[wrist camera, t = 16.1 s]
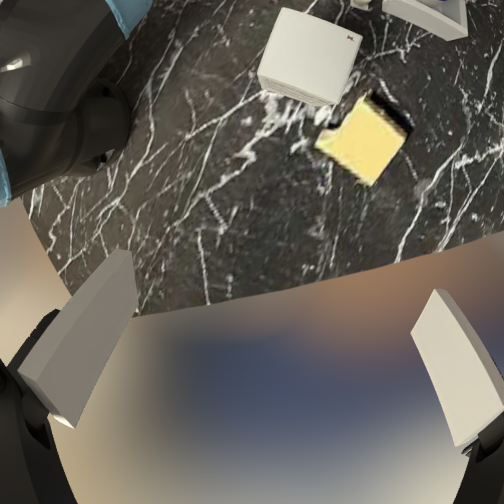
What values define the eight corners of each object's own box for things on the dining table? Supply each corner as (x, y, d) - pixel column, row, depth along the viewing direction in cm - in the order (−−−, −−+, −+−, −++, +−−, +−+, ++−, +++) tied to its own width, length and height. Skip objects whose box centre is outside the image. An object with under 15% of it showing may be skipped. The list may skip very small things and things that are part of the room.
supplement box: (278, 40, 26) (282, 3, 15) (334, 60, 27) (366, 35, 15) (259, 89, 29) (253, 74, 18) (315, 109, 30) (341, 106, 19)
